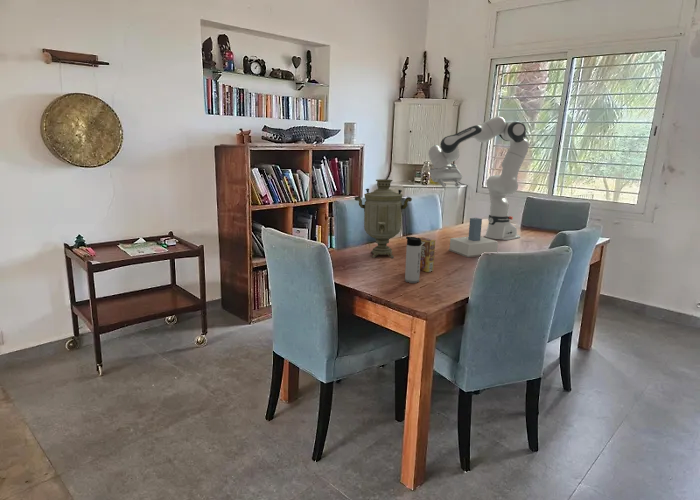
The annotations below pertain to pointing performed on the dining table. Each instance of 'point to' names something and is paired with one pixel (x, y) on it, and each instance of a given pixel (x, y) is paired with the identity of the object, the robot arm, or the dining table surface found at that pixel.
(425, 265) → the candy box
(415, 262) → the travel mug
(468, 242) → the riser
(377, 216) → the samovar
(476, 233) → the grey tall block
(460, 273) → the dining table surface
